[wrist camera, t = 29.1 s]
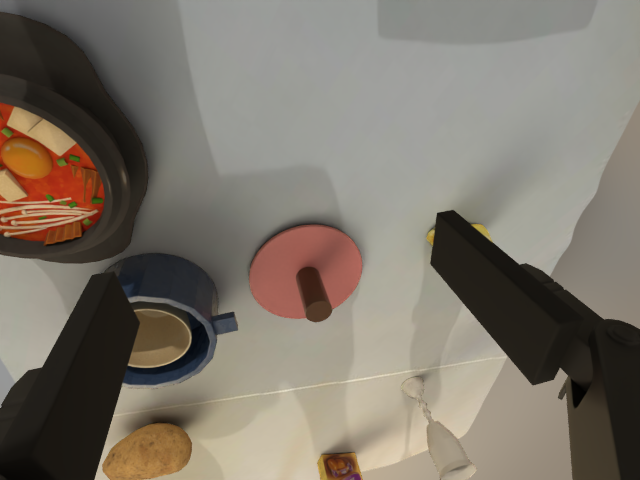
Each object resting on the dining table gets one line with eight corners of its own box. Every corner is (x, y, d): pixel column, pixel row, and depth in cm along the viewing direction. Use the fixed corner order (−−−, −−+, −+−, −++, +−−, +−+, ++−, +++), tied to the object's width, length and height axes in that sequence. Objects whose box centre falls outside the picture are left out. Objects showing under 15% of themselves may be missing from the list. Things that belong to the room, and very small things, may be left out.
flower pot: (163, 337, 51) (155, 378, 45) (100, 304, 46) (81, 346, 40) (211, 298, 49) (208, 335, 43) (150, 259, 44) (138, 295, 38)
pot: (50, 270, 42) (14, 319, 35) (222, 239, 45) (222, 279, 38) (102, 353, 51) (82, 405, 44) (245, 322, 54) (247, 367, 47)
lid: (238, 233, 45) (240, 273, 38) (359, 212, 48) (382, 246, 41) (259, 323, 55) (264, 368, 47) (360, 301, 57) (379, 341, 50)
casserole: (167, 250, 44) (156, 292, 37) (-4, 259, 40) (-52, 308, 33) (126, 21, 31) (97, 21, 24) (-133, -1, 27) (-257, -10, 20)
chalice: (431, 384, 75) (481, 472, 61) (404, 399, 76) (447, 489, 61) (420, 369, 71) (470, 459, 56) (392, 384, 72) (434, 478, 57)
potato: (102, 421, 58) (87, 472, 52) (189, 405, 61) (184, 451, 55) (120, 451, 64) (107, 500, 57) (199, 434, 66) (195, 480, 60)
